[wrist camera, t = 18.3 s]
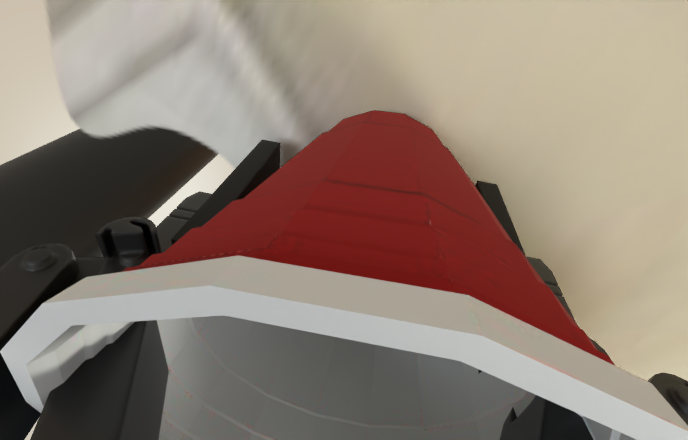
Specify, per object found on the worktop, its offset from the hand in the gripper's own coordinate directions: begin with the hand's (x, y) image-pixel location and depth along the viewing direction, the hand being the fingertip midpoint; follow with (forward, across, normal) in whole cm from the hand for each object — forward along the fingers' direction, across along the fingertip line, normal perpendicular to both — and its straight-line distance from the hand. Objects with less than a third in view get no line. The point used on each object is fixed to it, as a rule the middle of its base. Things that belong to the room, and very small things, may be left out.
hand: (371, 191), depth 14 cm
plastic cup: (+1, 0, 0) cm, 1 cm away
